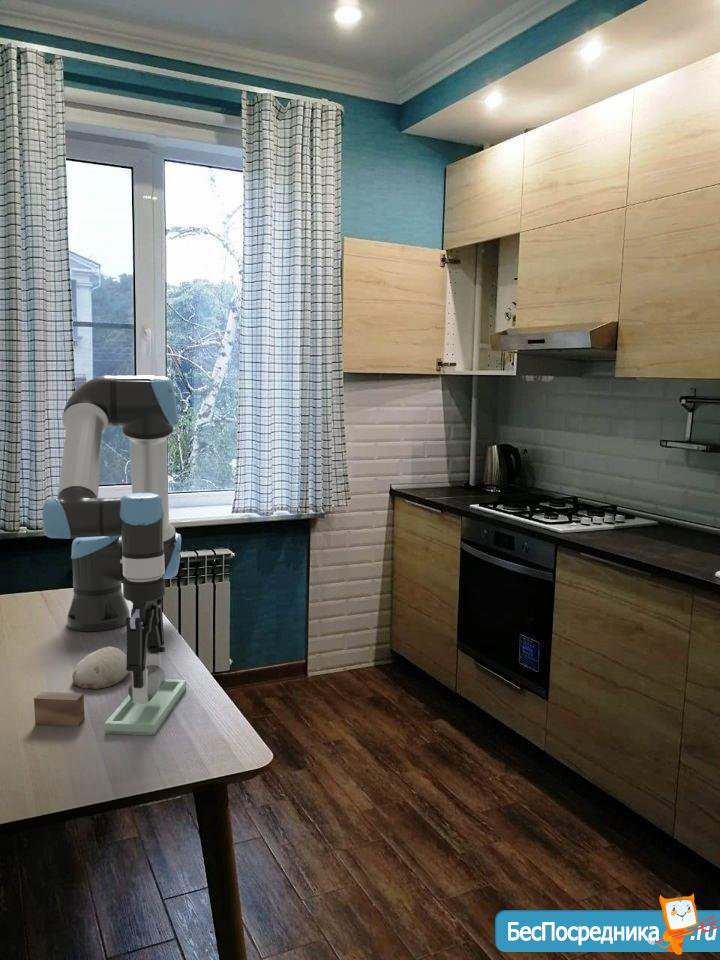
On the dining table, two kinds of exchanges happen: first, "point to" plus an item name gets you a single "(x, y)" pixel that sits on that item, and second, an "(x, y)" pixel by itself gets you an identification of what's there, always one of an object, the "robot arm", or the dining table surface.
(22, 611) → the dining table surface
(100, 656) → the stone
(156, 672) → the roller
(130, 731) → the tray
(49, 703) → the block
